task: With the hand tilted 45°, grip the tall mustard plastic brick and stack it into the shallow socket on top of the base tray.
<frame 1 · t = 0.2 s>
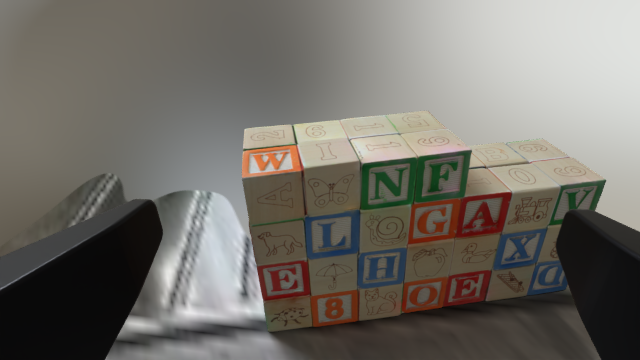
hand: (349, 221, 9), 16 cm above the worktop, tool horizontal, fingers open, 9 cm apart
stack of blocks: (407, 282, 30), on the worktop
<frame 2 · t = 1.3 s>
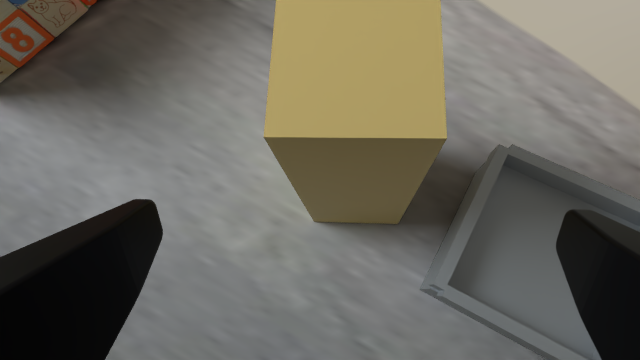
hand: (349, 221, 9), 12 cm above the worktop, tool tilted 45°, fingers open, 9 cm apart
base tray: (513, 261, 20), on the worktop
mustard brick: (356, 182, 22), on the worktop
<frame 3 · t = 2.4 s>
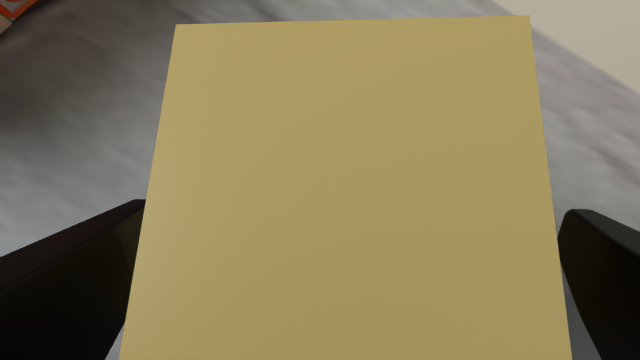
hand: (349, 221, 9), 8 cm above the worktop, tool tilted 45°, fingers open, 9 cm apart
mustard brick: (352, 266, 16), on the worktop
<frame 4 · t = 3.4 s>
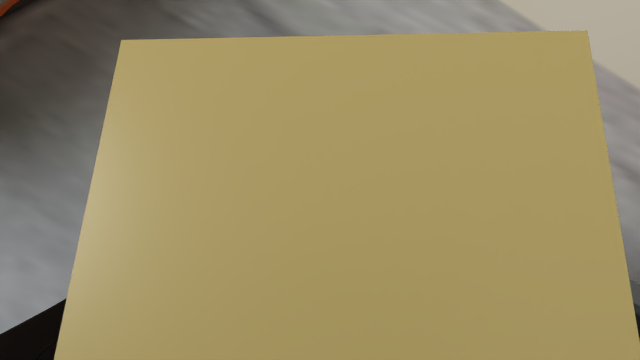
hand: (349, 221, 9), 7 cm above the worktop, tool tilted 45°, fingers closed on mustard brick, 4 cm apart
mustard brick: (351, 290, 15), on the worktop, touching gripper
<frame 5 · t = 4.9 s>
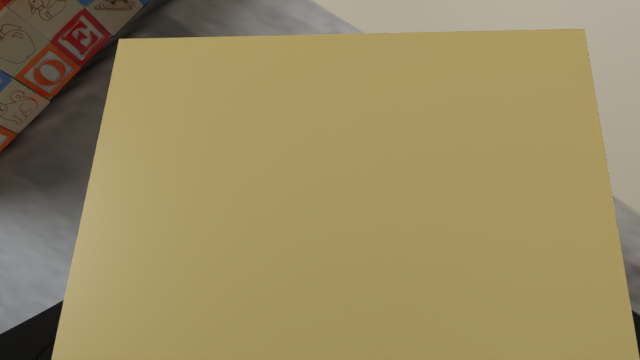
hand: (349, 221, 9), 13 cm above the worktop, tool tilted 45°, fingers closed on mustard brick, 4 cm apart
stack of blocks: (42, 64, 28), on the worktop
mustard brick: (351, 289, 15), point 7 cm above the worktop, touching gripper
when the fingers open (11 cm above the worktop, at t = 6.3 s): mustard brick drops 1 cm, resting on base tray.
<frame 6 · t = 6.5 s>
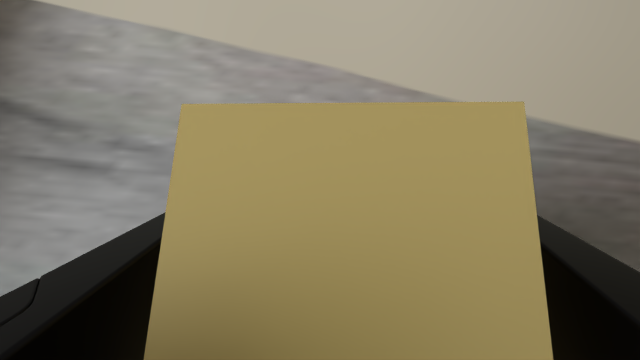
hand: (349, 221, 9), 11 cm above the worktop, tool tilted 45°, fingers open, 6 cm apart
mustard brick: (352, 289, 16), point 3 cm above the worktop, touching base tray
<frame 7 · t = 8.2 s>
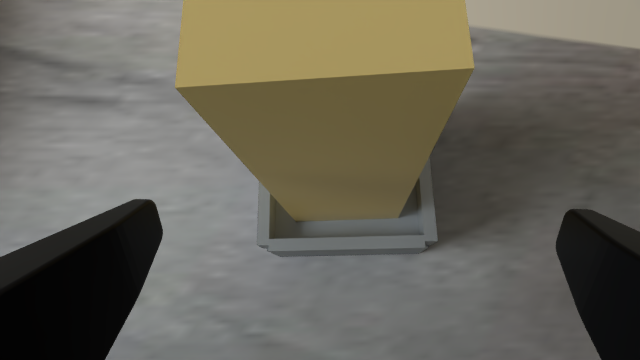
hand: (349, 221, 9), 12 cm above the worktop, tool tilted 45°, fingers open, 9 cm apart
base tray: (346, 188, 21), on the worktop
mustard brick: (344, 171, 18), point 3 cm above the worktop, touching base tray
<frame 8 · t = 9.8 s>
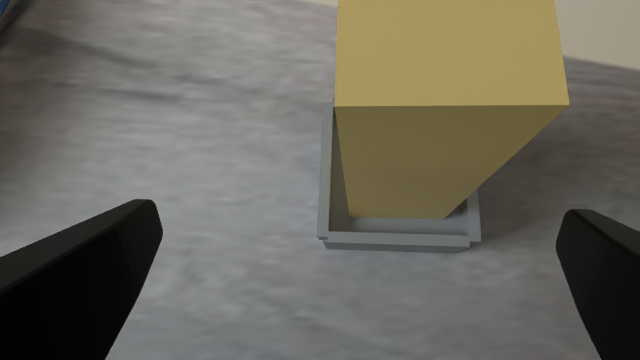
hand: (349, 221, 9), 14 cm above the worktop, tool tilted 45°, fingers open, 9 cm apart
base tray: (390, 189, 23), on the worktop
mustard brick: (395, 174, 20), point 3 cm above the worktop, touching base tray
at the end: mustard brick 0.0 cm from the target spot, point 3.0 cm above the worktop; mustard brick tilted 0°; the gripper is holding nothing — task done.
